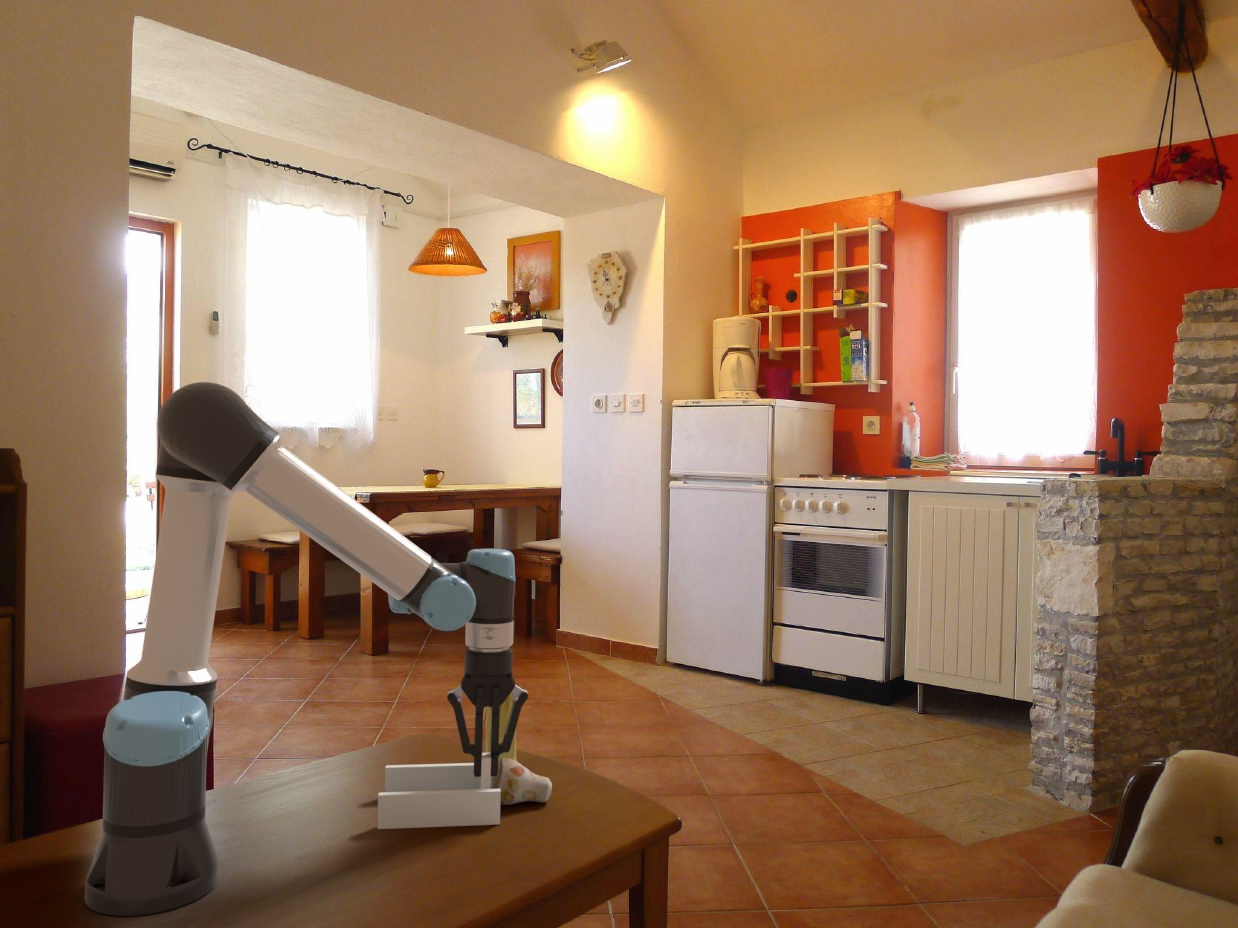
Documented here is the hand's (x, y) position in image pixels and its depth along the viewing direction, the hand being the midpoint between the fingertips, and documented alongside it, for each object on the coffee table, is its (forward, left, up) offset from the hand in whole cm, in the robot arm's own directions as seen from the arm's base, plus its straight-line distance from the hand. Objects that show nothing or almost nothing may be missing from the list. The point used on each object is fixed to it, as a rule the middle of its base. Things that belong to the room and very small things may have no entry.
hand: (485, 796), depth 147 cm
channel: (-7, 0, -2) cm, 7 cm away
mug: (+6, +2, -2) cm, 7 cm away
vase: (+3, +21, -2) cm, 21 cm away
